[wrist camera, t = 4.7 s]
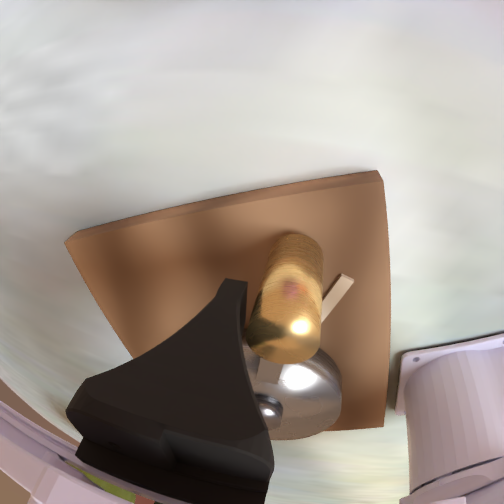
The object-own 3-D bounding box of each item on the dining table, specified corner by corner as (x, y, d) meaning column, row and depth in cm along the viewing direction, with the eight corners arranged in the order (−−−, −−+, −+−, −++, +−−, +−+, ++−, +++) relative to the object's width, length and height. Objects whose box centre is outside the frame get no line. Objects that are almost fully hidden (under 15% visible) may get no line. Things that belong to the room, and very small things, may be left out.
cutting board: (377, 170, 13) (384, 182, 12) (382, 411, 22) (383, 428, 21) (77, 231, 19) (62, 244, 17) (188, 412, 28) (183, 425, 27)
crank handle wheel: (317, 426, 22) (310, 485, 18) (193, 399, 23) (172, 454, 19) (408, 255, 13) (436, 340, 9) (190, 210, 14) (135, 277, 10)
